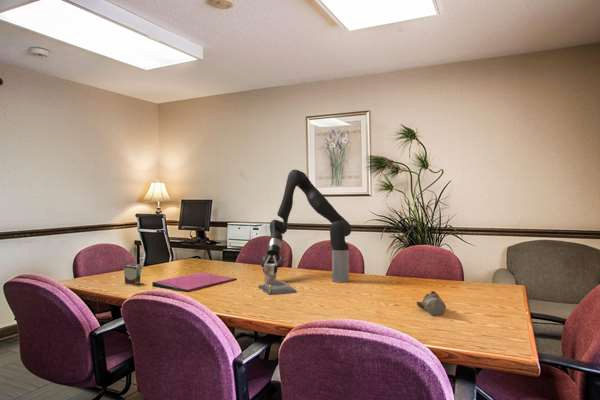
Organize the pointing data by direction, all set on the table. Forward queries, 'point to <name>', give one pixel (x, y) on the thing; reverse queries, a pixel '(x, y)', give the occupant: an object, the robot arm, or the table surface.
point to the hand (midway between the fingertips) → (269, 272)
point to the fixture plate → (276, 288)
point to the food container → (132, 273)
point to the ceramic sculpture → (433, 304)
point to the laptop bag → (192, 282)
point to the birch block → (269, 272)
